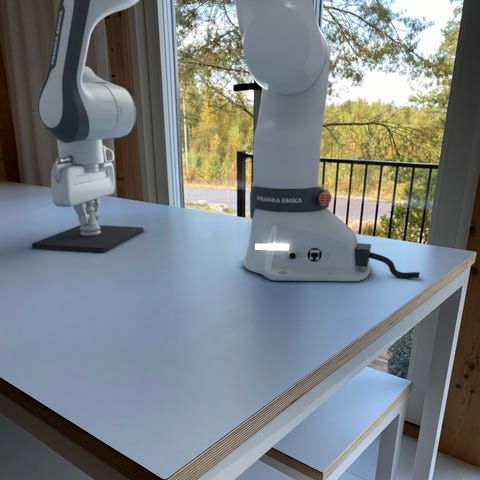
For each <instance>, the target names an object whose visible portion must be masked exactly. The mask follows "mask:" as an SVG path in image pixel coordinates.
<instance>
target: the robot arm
mask: <svg viewBox="0 0 480 480" xmlns="http://www.w3.org/2000/svg"><path fill="white" fill-rule="evenodd" d="M138 2H140V0H58V3H57V7H56V15H55V21H54V26H53V32H52V39H51V46H50V50H49V57H48V63H47V70H46V74H45V77H44V80H43V81H44V82H43V84H42V87H41V90H40V93H39V96H38V101H37V111H38V117H39V120H40V122H41V123H42V125H43V126H44V128H45V129H46V130H47V131H48V133H49V134H51V135H52V136H53V137H54V138H55V139H56V145H57V150H58V157H57V158H56V159H55V161H54V163H53V164H52V169H51V173H50V184H51V186H50V187H51V188H50V189H51V197H52V199H51V200H52V202H53V204H54V205H55V207H58V208H59V207H60V208H70V207H71V208H72V207H73V210H74V211H75V214H76V215H77V216H78V217H77V218H78V222H79V225H82V224H87V223H89V222H90V219H89V218H90V217H89V215H87V213H86V210H85V208H86V202H88V201H91V200H94V201H95V203H94V204H93V208H94V215H95V219H96V221H97V220H99V219H100V213H99V211H100V207H101V203H102V202H101V198H104V197H107V196H110V195H113V194H114V193H115V189H116V176H115V168H114V164H113V161H114V160H115V152H114V151H113V149H110V148H109V147H107V146H106V145H104V144H103V140H106V139H118V138H123V137H126V136H128V135H130V133H131V132H132V131H133V129H134V128H135V125H136V121H137V107H136V104H135V101H134V98H133V96H132V94H131V93H130V92H129V91H128V89H126V88H125V87H124V86H120V85H118V84H115V83H112V82H109V81H107V80H105V79H103V78H102V77H99V76H98V75H96V73H95V72H94V71H93V69H91V68H90V67H89V66H86V61H87V57H88V56H87V55H88V51H89V46H90V41H91V35H92V33H93V31H94V29H95V27H96V26H97V24H98V23H99V22H100V21H102V20H103V19H104V18H106V17H108V16H110V15H112V14H114V13H117V12H120V11H123V10H126V9H129V8H131V7H133V6H135V5H136V4H137V3H138ZM234 5H235V11H236V17H237V23H238V29H239V33H240V38H241V44H242V53H243V59H244V62H245V66H246V68H247V70H248V72H249V74H250V75H251V77H252V79H253V80H254V81H255V82H256V84H258V86H260V87H261V96H260V105H259V111H258V117H257V122H256V127H255V130H254V134H253V176H252V177H253V179H252V181H253V183H252V185H250V192H249V213H250V215H249V216H250V219H251V224H250V231H249V238H248V244H247V247H246V248H247V249H246V253H245V257H244V259H243V262H242V265H243V267H244V268H245V269H247V270H248V271H250V272H253V273H256V274H259V275H262V276H263V277H265V279H266V278H267V279H268V280H270V281H280V282H281V281H290V282H291V281H293V282H295V281H298V282H360V281H363V280H366V279H367V278H368V276H369V275H370V273H371V271H370V270H371V268H370V267H371V266H370V265H371V264H370V260H371V259H372V260H375V261H378V262H382V263H383V264H385V265H386V266H387V267H388V269H389V272H390V273H391V274H392V276H394V277H397V278H399V279H420V275H421V274H420V273H421V272H419V271H409V272H402V271H399V270H398V269H396V266H395V263H394V262H393V260H391V259H390V258H389V257H386V256H384V255H382V254H378V253H375V252H373V251H371V249H372V244H370V243H361V242H360V243H359V242H358V239H357V236H356V233H355V232H354V230H353V229H352V228H351V227H350V226H348V224H346V223H345V222H344V221H343V220H342V219H341V218H339V217H338V216H337V215H336V214H334V213H333V212H332V211H331V210H330V209H329V206H330V203H331V201H332V194H331V193H330V191H329V190H328V189H326V188H325V187H322V186H321V185H319V178H320V163H321V147H322V136H323V134H322V133H323V127H324V121H325V120H324V118H325V113H326V112H325V111H326V104H327V97H328V96H327V95H328V88H329V87H328V86H329V78H330V77H329V76H330V67H331V49H330V45H329V42H328V40H327V38H326V36H325V35H324V33H323V31H322V30H321V28H320V26H319V23H318V20H317V15H316V12H315V7H314V2H313V0H234Z"/></svg>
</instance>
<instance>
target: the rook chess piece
mask: <svg viewBox="0 0 480 480" xmlns="http://www.w3.org/2000/svg"><path fill="white" fill-rule="evenodd" d="M94 203H95V201H94V200H91V201H88V202H86V208H85V210H86V213H87V215H89V217H90V218H89V219H90V222H89V223H87V224H81V225H82V226H81V227H80V230H81V231H82V232H81V233H80V234H81V235H82V236H87V237H91V236H98V235H100V233H101V231H99V229H100V226H99V225H100V224H99V223H98V221H97V220H96V219H95V215H94V208H93V204H94Z"/></svg>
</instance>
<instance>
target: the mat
mask: <svg viewBox="0 0 480 480" xmlns="http://www.w3.org/2000/svg"><path fill="white" fill-rule="evenodd" d="M98 225H99V226H100V229H99V231H101V233H100V235H98V236H91V237H87V236H82V235H81V234H80V233H81V232H82V231H81V230H80V227H81V226H82V224H79V225H77V226H74V227H71V228H69V229H66V230H63V231H61V232H58V233H56V234H53V235H51V236H48V237H46V238H42V239H40V240H37V241H34V242H32V243H31V248H32V249H40V250H56V251H68V252H88V253H101V254H104V253H106V252H108V251H110V250H112V249H113V248H115V247H118V246H119V245H121V244H123V243H126V242H128V240H130V239H132V238H134V237H136V236H138V235H140V234H142V233H144V230H145V229H144V227H141V226H125V225H124V226H122V225H104V224H103V225H102V224H98Z"/></svg>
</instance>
